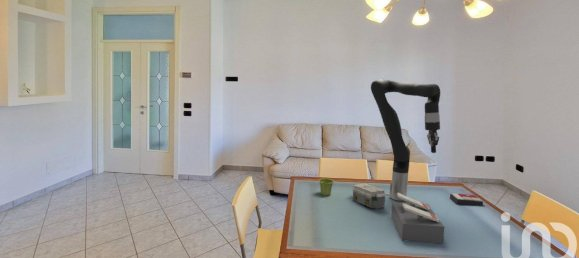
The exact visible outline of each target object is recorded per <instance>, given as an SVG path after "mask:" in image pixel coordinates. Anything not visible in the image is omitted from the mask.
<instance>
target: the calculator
mask: <svg viewBox="0 0 579 258" xmlns="http://www.w3.org/2000/svg"><path fill="white" fill-rule="evenodd" d="M449 200H450V201H452V202H453V203H454V204H455V205H457V206H474V207H476V206H477V207H483V204H484V201H483V200H482V199H481V198H479V197H478V196H476V195H473V194H465V193H453V192H452V193H450V195H449Z"/></svg>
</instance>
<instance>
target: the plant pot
mask: <svg viewBox="0 0 579 258" xmlns="http://www.w3.org/2000/svg"><path fill="white" fill-rule="evenodd" d="M318 182H319V187H320V194H321V195H322V196H325V195H326V196H330V195H331V193H332V188H333V184H334V180H333V179H331V178H320V179H319V180H318Z"/></svg>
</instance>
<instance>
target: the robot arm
mask: <svg viewBox="0 0 579 258" xmlns="http://www.w3.org/2000/svg"><path fill="white" fill-rule="evenodd" d="M370 90H371V94H372V96H373V98H374V101H375V103H376V105H377V108H378V111H379V113H380V117H381V120H382V123H383V126H384V129H385V132H386V133H387V137H388V138H389V141H390V145H391V148H392V154H393V162H392V163H393V164H392V174H391V176H392V177H391V182H390V183H389V184H390V185H389V195H390V196H388V197H389V198H390V199H392V200H394V201H400V202H401V201H403V202H404V201H405V200H402V199H400V198H399V197H398V195H397V193H400V194H402V195H405V196H407V195H408V182H409V169H410V158H411V150H410V148H409V147H408V146H407V145H406V143H405V141H404V137H403V133H402V127H401V126H402V125H401V122H400V119H399V116H398V113H397V112H396V110H395V109H394V108H393V106H391V104H390V103H389V101H388V99H387V96H386V94H388V93H399V94H402V95H405V96H414V97H423V98H427V101H426V102H425V103H424V129H425V131H428V133H427V136H426V138H427V140H428V144H429V146H430V152H431V153H432V154H435V153H437V146H438V145H439V140H440V136H439V135H438V131H439V130H441V122H440V121H441V118H440V108H439V107H440V106H439V103H440V100H441V99H440V98H441V89H440V87H439V85H438V84H436V83H430V84H428V83H426V84H425V83H417V82H402V81H395V80H390V79H386V78H380V79H377V80H374V81H372V82H371V83H370ZM407 197H408V196H407Z"/></svg>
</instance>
